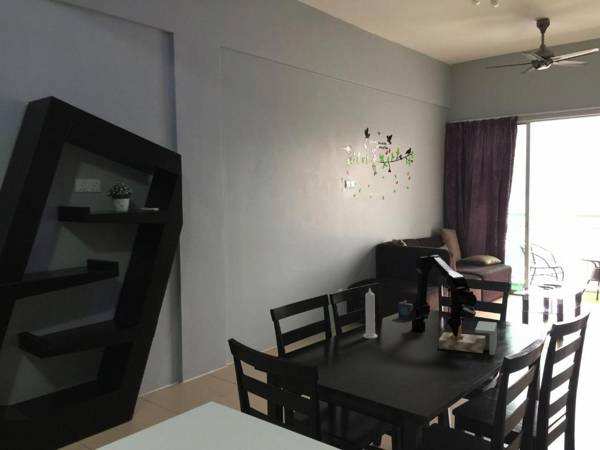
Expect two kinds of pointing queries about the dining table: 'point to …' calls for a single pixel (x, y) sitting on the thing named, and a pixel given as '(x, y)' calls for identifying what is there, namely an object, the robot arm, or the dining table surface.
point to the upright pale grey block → (490, 329)
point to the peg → (458, 334)
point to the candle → (370, 315)
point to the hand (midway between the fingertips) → (456, 335)
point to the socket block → (462, 342)
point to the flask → (404, 310)
